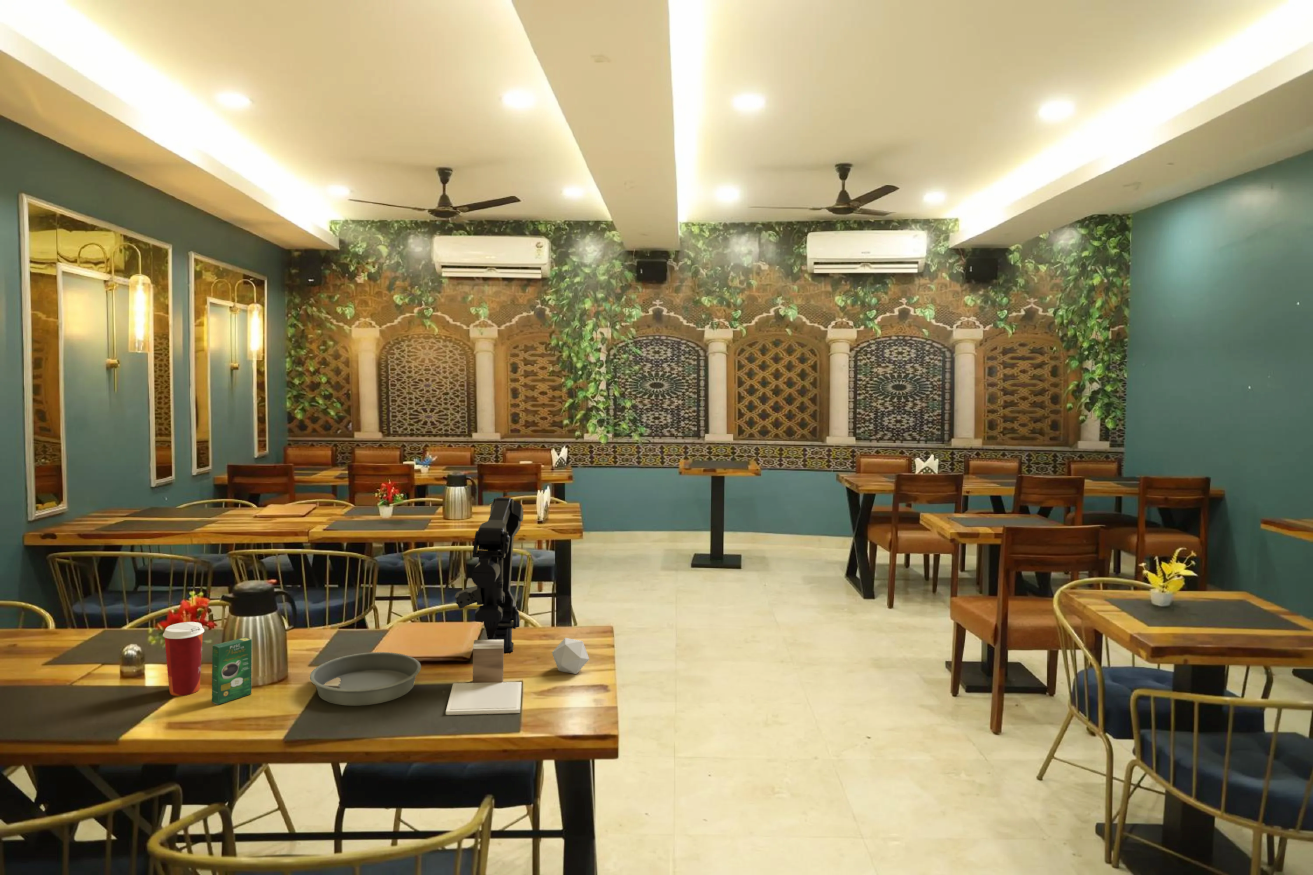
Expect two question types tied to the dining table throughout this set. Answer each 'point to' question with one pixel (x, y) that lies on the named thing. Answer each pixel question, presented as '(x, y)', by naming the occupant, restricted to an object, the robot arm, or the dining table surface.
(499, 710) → the shallow cream tray
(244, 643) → the coffee box
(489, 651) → the walnut block
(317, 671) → the cake pan
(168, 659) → the coffee cup
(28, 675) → the dining table surface
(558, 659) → the die
